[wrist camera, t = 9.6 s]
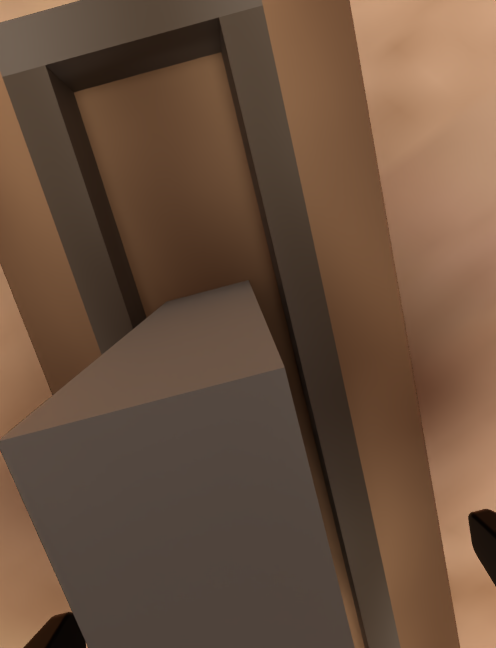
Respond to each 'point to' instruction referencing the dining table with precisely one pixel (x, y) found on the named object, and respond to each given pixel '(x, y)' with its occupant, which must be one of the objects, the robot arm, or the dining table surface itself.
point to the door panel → (182, 489)
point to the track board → (231, 243)
